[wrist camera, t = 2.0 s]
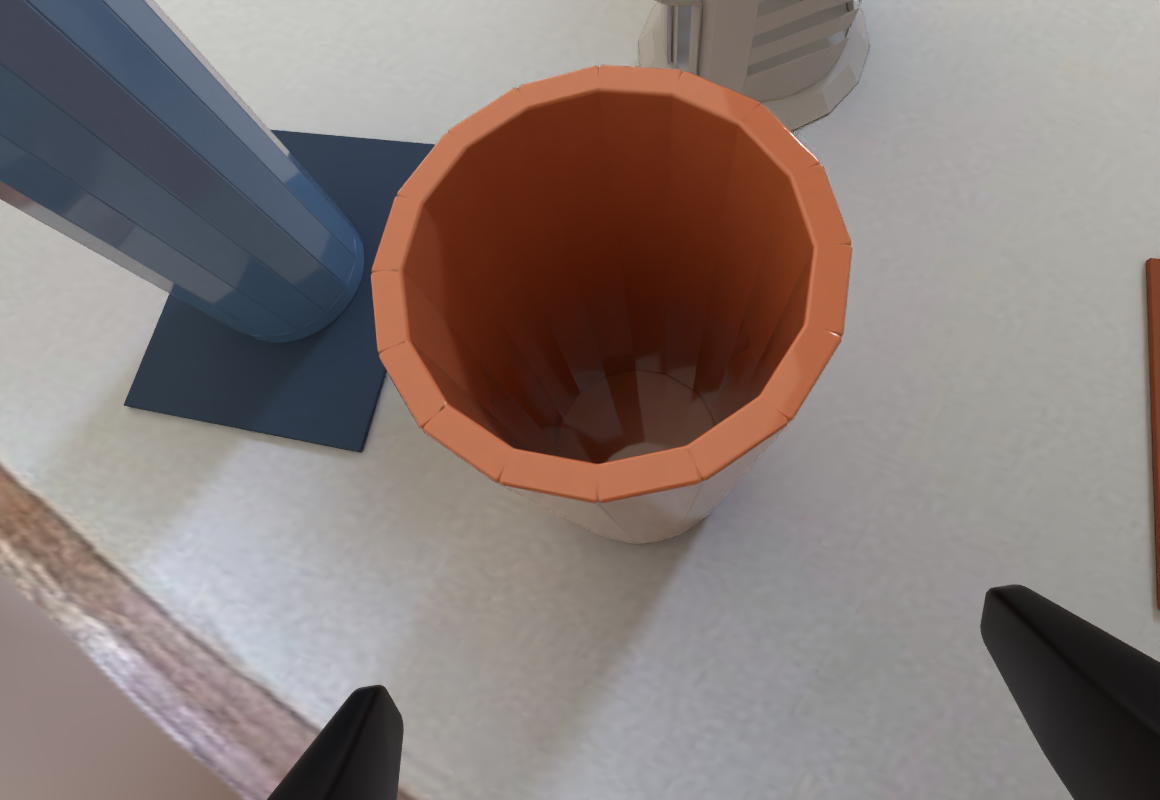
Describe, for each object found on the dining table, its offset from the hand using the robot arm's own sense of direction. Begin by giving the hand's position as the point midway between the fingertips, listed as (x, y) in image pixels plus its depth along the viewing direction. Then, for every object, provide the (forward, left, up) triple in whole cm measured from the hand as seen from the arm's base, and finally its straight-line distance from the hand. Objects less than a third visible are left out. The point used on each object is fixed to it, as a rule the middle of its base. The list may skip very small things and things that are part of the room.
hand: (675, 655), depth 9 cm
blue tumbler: (+10, +18, -11) cm, 24 cm away
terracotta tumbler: (+5, +2, -12) cm, 13 cm away
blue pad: (+10, +18, -12) cm, 24 cm away
